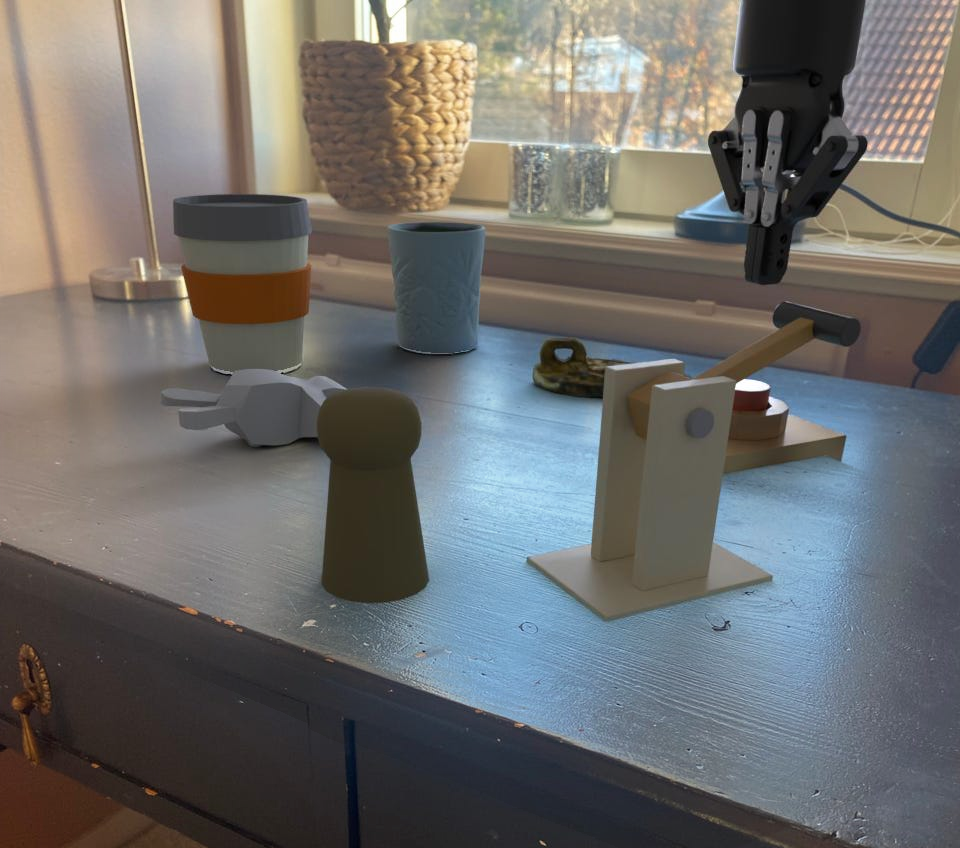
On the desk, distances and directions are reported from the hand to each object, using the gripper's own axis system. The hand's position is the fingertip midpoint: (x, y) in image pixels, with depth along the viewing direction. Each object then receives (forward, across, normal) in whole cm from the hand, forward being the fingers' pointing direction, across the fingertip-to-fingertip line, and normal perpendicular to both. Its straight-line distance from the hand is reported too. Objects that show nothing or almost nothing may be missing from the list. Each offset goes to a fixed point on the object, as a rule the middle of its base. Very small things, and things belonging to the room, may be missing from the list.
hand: (762, 282), depth 68 cm
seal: (+13, +20, -2) cm, 24 cm away
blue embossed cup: (+12, +43, +5) cm, 45 cm away
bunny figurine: (+12, +18, +31) cm, 38 cm away
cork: (+12, -10, +34) cm, 38 cm away
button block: (+13, 0, 0) cm, 13 cm away
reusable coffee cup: (+12, +42, +26) cm, 51 cm away
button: (+9, 0, 0) cm, 9 cm away
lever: (+2, -16, +15) cm, 22 cm away
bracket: (+12, -16, +20) cm, 28 cm away
